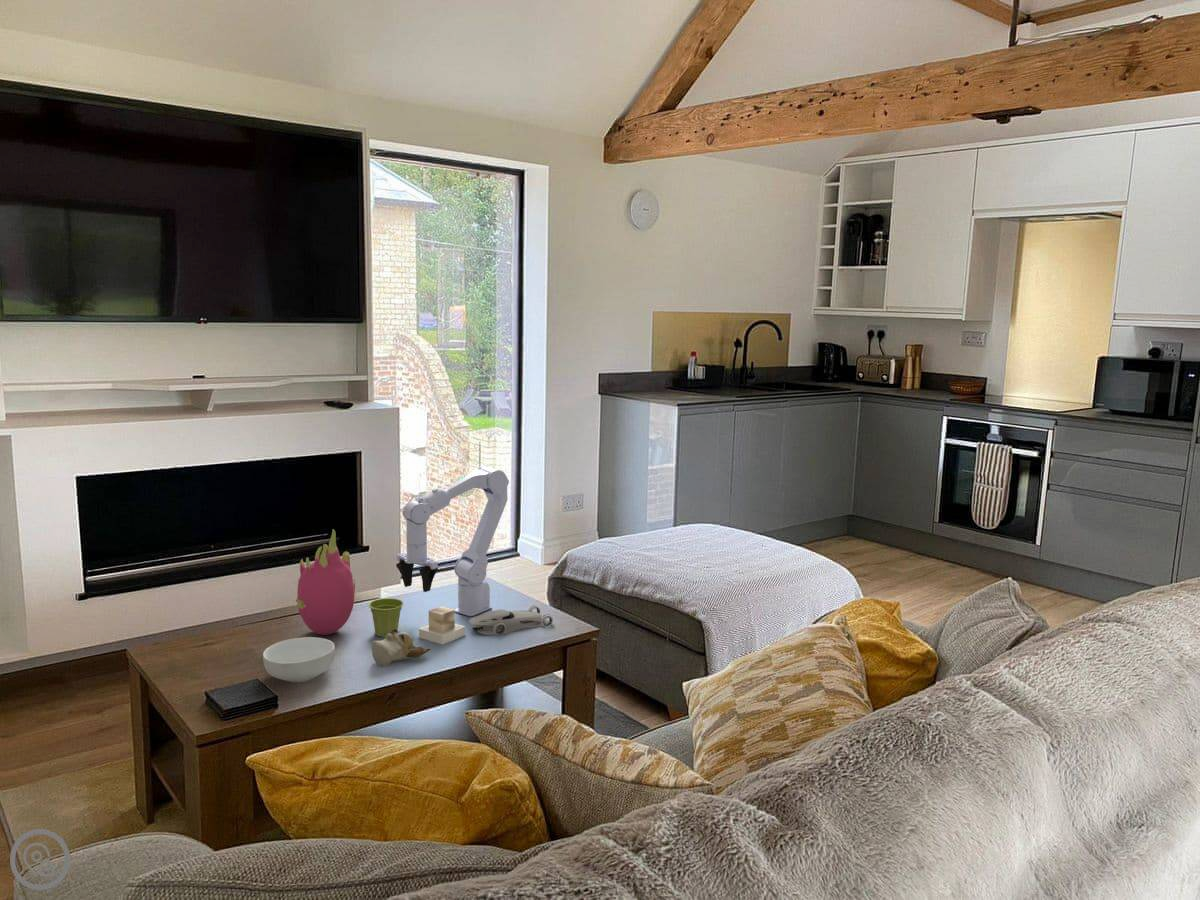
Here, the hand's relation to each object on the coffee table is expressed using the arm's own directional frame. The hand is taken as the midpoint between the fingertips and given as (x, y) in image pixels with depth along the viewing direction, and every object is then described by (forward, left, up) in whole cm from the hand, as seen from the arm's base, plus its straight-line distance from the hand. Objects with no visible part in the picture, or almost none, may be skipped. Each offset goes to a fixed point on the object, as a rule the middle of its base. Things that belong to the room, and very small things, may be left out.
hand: (417, 588), depth 259 cm
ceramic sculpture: (+24, +16, -10) cm, 31 cm away
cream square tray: (+5, +14, -10) cm, 18 cm away
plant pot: (+12, 0, -10) cm, 16 cm away
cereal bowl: (+45, +5, -10) cm, 46 cm away
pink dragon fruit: (+22, -13, -10) cm, 27 cm away
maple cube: (+5, +14, -7) cm, 16 cm away
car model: (-13, +24, -10) cm, 29 cm away
